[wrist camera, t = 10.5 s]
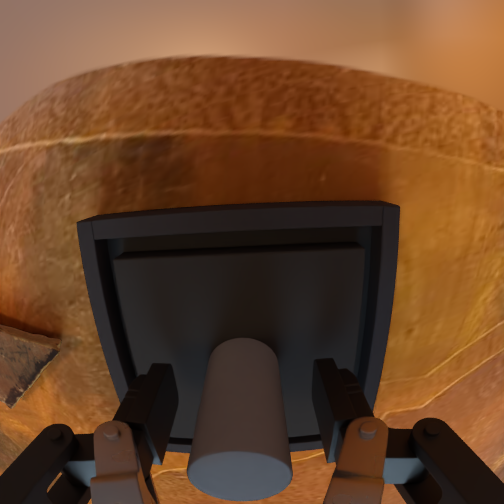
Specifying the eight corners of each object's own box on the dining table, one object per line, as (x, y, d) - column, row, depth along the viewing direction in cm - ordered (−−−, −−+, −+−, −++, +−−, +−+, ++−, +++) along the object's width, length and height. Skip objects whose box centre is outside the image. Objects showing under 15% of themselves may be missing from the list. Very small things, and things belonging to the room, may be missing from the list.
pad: (122, 251, 13) (20, 325, 6) (356, 241, 13) (453, 312, 6) (161, 422, 15) (130, 524, 8) (338, 416, 15) (370, 521, 8)
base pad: (97, 215, 13) (75, 222, 11) (381, 200, 13) (401, 205, 11) (146, 426, 16) (138, 448, 14) (356, 419, 16) (364, 441, 14)
